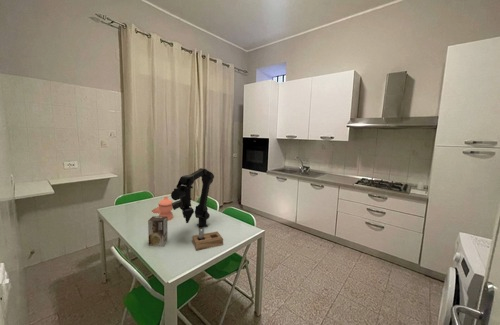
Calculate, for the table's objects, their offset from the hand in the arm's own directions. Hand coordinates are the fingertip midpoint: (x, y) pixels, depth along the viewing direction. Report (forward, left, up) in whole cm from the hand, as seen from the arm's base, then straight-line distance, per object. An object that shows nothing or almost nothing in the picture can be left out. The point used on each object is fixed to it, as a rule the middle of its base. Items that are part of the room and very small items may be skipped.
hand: (185, 220), depth 128 cm
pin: (+11, +7, -11) cm, 17 cm away
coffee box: (+1, -16, -12) cm, 20 cm away
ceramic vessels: (-47, -11, -12) cm, 50 cm away
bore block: (+11, +11, -12) cm, 20 cm away
